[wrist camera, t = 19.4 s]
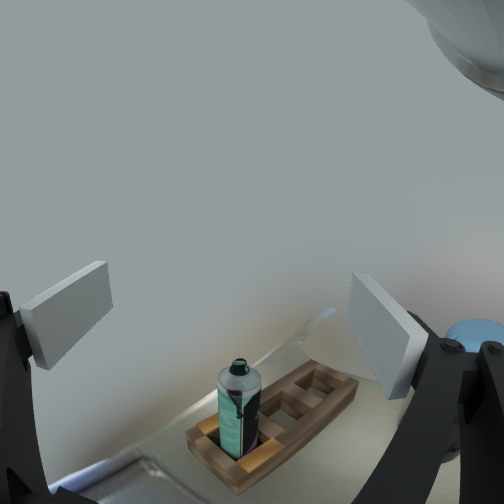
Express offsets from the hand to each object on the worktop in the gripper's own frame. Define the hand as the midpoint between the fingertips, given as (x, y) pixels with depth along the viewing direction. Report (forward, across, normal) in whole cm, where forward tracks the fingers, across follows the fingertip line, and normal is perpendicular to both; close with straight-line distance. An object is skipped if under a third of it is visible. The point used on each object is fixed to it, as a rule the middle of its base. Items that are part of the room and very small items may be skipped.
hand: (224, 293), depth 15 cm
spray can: (+15, 0, -35) cm, 38 cm away
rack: (+22, +7, -35) cm, 42 cm away
